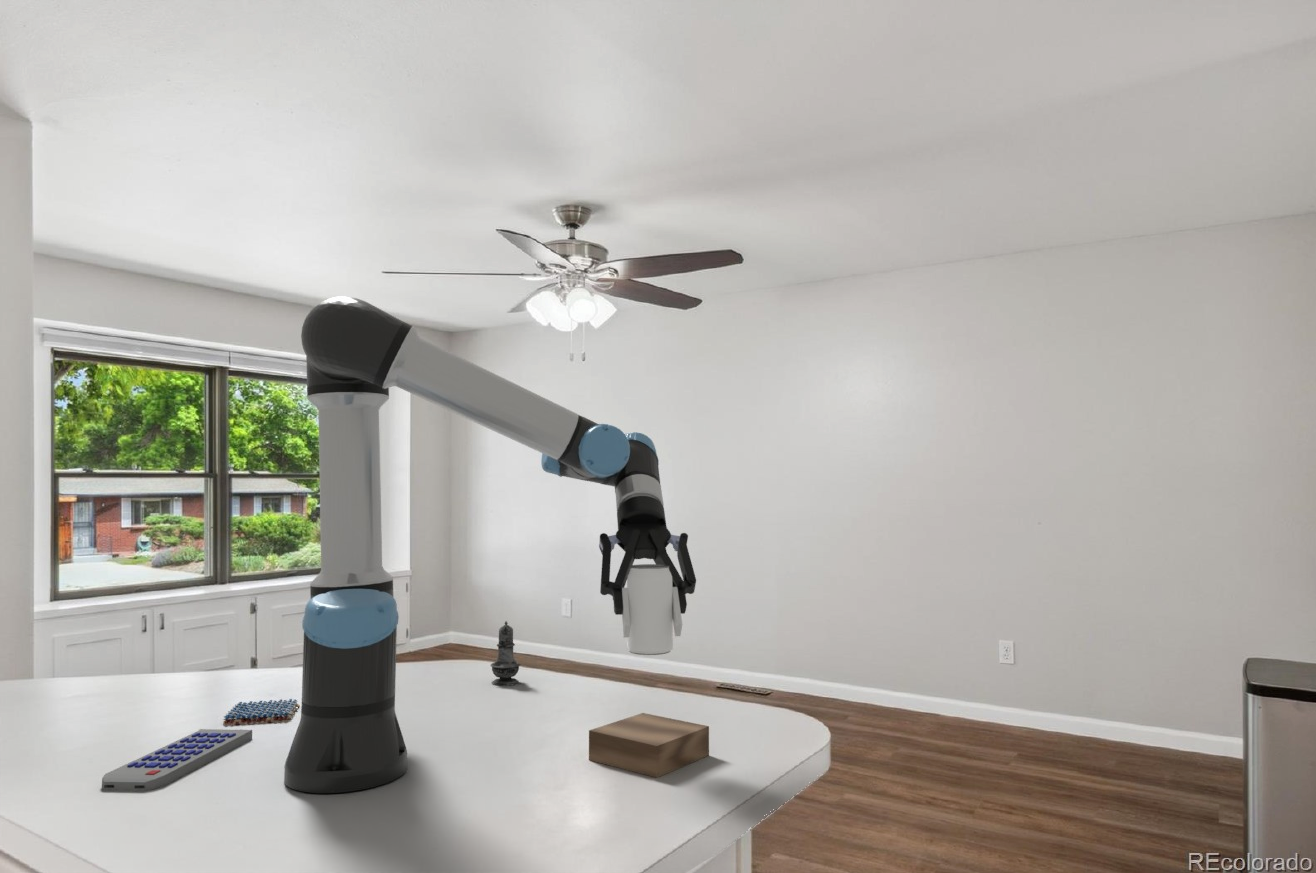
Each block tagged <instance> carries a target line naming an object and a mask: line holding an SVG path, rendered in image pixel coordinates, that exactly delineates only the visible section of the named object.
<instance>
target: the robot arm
mask: <svg viewBox="0 0 1316 873" xmlns="http://www.w3.org/2000/svg"><path fill="white" fill-rule="evenodd" d="M302 324H303V325H302V326H301V334H300V335H301V336H300V337H301V339H300V340H301V345H302V349H303V352H304V354H305V356H306V397H307V398H306V399H307V400H308V401H309V402H310V403H311V404H312V405H313V406H314V407H315V408H316V410H317V411H318V413H317V414H318V452H319V453H318V454H319V457H318V460H319V461H318V463H319V465H318V466H319V468H318V470H319V471H318V472H319V473H318V474H319V514H320V516H319V519H320V520H319V522H320V527H319V529H320V572H319V573H318V574H317V576H316V577H315V578H314V579H313V580H312V581H311V582H310V584H309V585H310V586H309V588H310V592H309V593H310V594H309V595H310V599H309V600H308V601H307V603H306V605H305V608H304V615H303V618H302V622H301V623H302V630H303V645H302V646H303V647H302V648H303V650H302V680H301V681H302V682H301V705H300V708H301V710H300V720H299V722H298V726H297V729H296V732H295V734H294V736H293V740H292V743H291V746H290V748H289V752H288V754H287V757H286V760H285V763H284V772H283V774H284V776H283V777H284V778H283V782H284V784H285V786H287V787H288V788H290V789H291V790H295V791H297V792H303V793H310V794H311V793H312V794H334V793H335V794H337V793H349V792H355V791H361V790H366V789H371V788H374V787H378V786H381V785H385V784H387V783H390V782H392V781H395V780H397V779H399V778H400V777H402V776H403V775H404V774H405V773H406V772H407V770H408V750H407V746H406V744H405V741H404V736H403V733H402V730H401V727H400V724H399V720H398V717H397V714H396V679H397V678H396V672H397V671H396V670H397V632H398V631H397V628H398V624H399V612H398V607H397V600H396V598H394V597H395V596H394V577H393V576H392V575H391V574H390V573H389V571H386V570H385V568H384V567H383V549H382V548H383V545H382V544H383V542H382V540H383V538H382V535H383V534H382V499H381V498H382V494H381V489H382V488H381V451H380V448H381V445H380V409H381V408H382V407H383V405H385V404H386V403H387V401H389V399H390V388H391V387H397V388H399V389H401V390H403V391H405V392H408V393H409V394H412V395H414V396H416V397H419V398H421V399H423V400H425V401H427V402H429V403H432V404H434V405H436V406H438V407H441V408H443V409H445V410H447V411H449V412H451V413H453V414H456V415H458V416H461V418H465V419H467V420H469V421H470V422H473V423H476V424H477V425H480V426H482V427H484V428H487V429H489V430H491V431H492V432H495V433H497V434H498V435H499V434H500V435H502V436H503V437H506V438H507V439H508V438H509V439H510V440H513V441H515V442H517V443H519V444H521V445H524V446H526V447H528V448H530V449H533V450H534V451H537V452H538V453H541V459H540V460H541V461H540V462H541V468H542V470H543V472H544V471H545V473H548V474H553V475H557V476H559V477H560V478H561V477H566V478H570V479H575V480H579V481H585V482H590V483H596V484H601V485H604V486H608V487H609V486H610V487H614V493H615V501H616V502H615V503H616V505H615V506H616V519H617V531H616V532H615V534H612V535H608V534H607V533H605V532H603V533H600V535H599V544H598V546H599V551H600V553H601V555H602V559H601V575H600V577H601V578H600V588H599V590H600V592H599V593H600V595H602V596H607V595H609V596H611V597H612V601H613V613H614V614H615V615H617V616H618V615H619V616H620V615H621V618H622V619H621V620H622V632H623V633H622V634H623V638H627V637H629V634H630V614H629V601H628V590H627V587H625V586H626V585H627V577H628V574H629V572H630V570H631V567H630V566H631V565H634V562H635V560H642V559H648V560H653V561H654V564H660V565H669V571H670V573H671V575H672V586H673V632H674V636H675V637H681V635H682V634H681V633H682V627H683V619H682V615H684V614H686V612H687V606H688V602H687V597H686V594H689V595H692V594H694V593H695V589H696V584H697V578H696V574H695V571H694V567H693V563H692V559H691V556H690V553H689V548H688V545H687V544H688V539H689V535H688V533H686V532H682V533H680V535H674V534H672V533H671V532H670V530H669V529H668V527H667V521H666V519H667V518H666V514H665V512H666V511H665V507H664V499H663V493H662V492H663V491H662V485H661V478H660V471H659V470H660V469H659V457H658V454H657V449H656V446H655V443H654V442H653V440H652V438H650V436H648V435H646V434H644V433H641V432H635V431H634V432H632V433H631V432H630V433H627V432H626V433H624V432H623V430H621V429H620V428H618V427H616V426H614V425H611V424H607V423H597V422H595V421H593V420H591V419H588V418H587V417H585V416H582V415H580V414H578V413H576V412H575V411H572V410H570V409H568V408H566V407H564V406H562V405H560V404H558V403H556V402H553V401H552V400H550V399H547V398H545V397H543V396H541V395H540V394H537V393H535V392H533V391H531V390H529V389H527V388H524V387H523V386H520V385H518V384H517V383H514V382H512V381H510V380H508V379H506V378H504V377H503V376H500V375H498V374H496V373H494V372H492V371H489V370H487V369H486V368H483V367H482V366H480V365H477V364H475V363H474V362H471V361H469V360H467V359H465V358H462V357H460V356H458V355H456V354H455V353H452V352H450V351H449V350H446V349H444V348H442V347H441V346H438V345H436V344H434V343H432V342H431V341H427V340H426V339H424V338H422V337H420V336H419V335H418V332H417V328H416V327H415V326H413V325H412V324H409V323H408V322H405V321H403V320H401V319H399V318H397V317H396V316H394V315H392V314H389V313H388V312H386V311H384V310H382V309H381V308H379V307H377V306H376V305H373V304H372V303H369V302H367V301H366V300H363V299H360V298H357V297H352V296H335V297H331V298H328V299H325V300H323V301H321V302H319V303H318V304H317V305H315V306H313V308H312V309H311V310H310V311H309V313H308V314H307V315H306V317H305V319H304V321H303V323H302ZM670 544H671V545H672V548H673V549H674V551H675V552H676V553H677V554H676V557H677V560H678V564H679V568H680V572H681V575H680V573H679V571H678V570H677V568H676V566H675V564H674V562H673V561H672V559H671V558H670V555H669V554H668V552H667V547H668V545H670ZM615 545H617V546H618V547H620V548H621V550H622V551H624V554H623V555H624V556H623V557H622V561H621V563H620V566H619V569H618V572H617V574H616V578H615V580H614V581H611V580H610V576H611V557H612V551H614V549H615Z"/></svg>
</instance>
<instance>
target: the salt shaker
mask: <svg viewBox="0 0 1316 873" xmlns="http://www.w3.org/2000/svg"><path fill="white" fill-rule="evenodd" d="M508 624H509V623H508V621H507V620H506V621H505V622H504V625H503V626H501V627H500V628H499V629H498V643H497V644H496V646H497V657H496V658H497V659H496V660H495V661H494V662H492V663H490V667H491V671H492V673H493V675H494V677H497V678H496V679H494V680H492V681H491V684H492V685H493V686H501V687H502V686H504V687H505V686H514V685H517V684H519V683H520V681H519V680H518V679H516V678H514V677H515V676H516V675H517V674H518V672H519V670H520V666H521V664H522V663H520V662H518V661H517V660H516V659H515V656H514V647H515V645H516V643H514V628H513V627H512V626H510V625H508Z"/></svg>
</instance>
